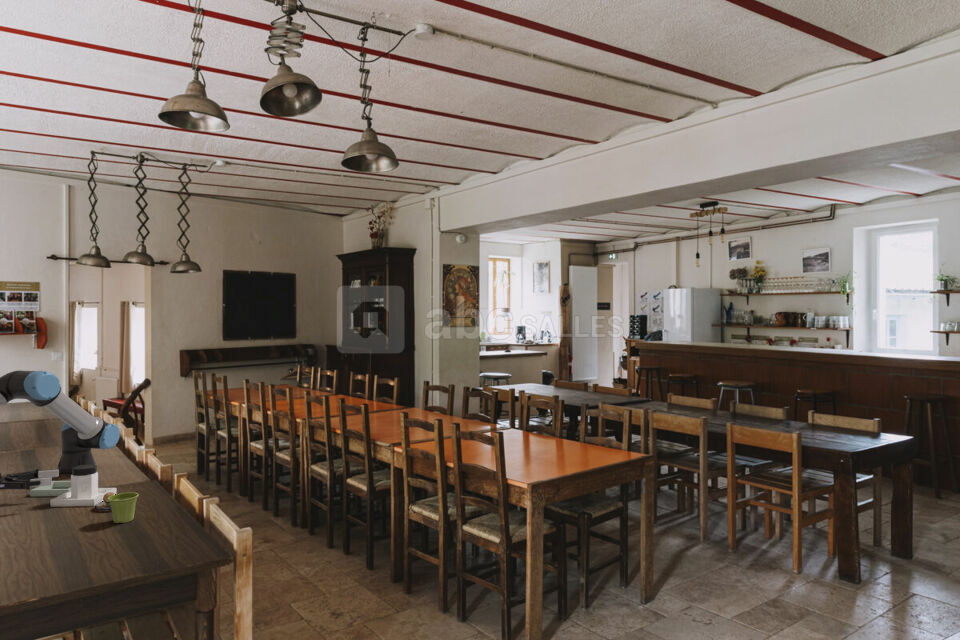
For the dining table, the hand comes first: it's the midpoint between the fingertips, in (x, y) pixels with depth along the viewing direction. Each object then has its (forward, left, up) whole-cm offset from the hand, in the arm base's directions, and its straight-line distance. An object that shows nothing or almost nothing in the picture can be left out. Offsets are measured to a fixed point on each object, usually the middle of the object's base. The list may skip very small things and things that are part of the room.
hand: (55, 477), depth 239 cm
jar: (-4, +9, -9) cm, 13 cm away
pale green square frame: (-17, -8, -10) cm, 21 cm away
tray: (-4, +9, -10) cm, 14 cm away
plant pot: (+22, +37, -10) cm, 44 cm away
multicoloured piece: (+6, +25, -10) cm, 28 cm away
